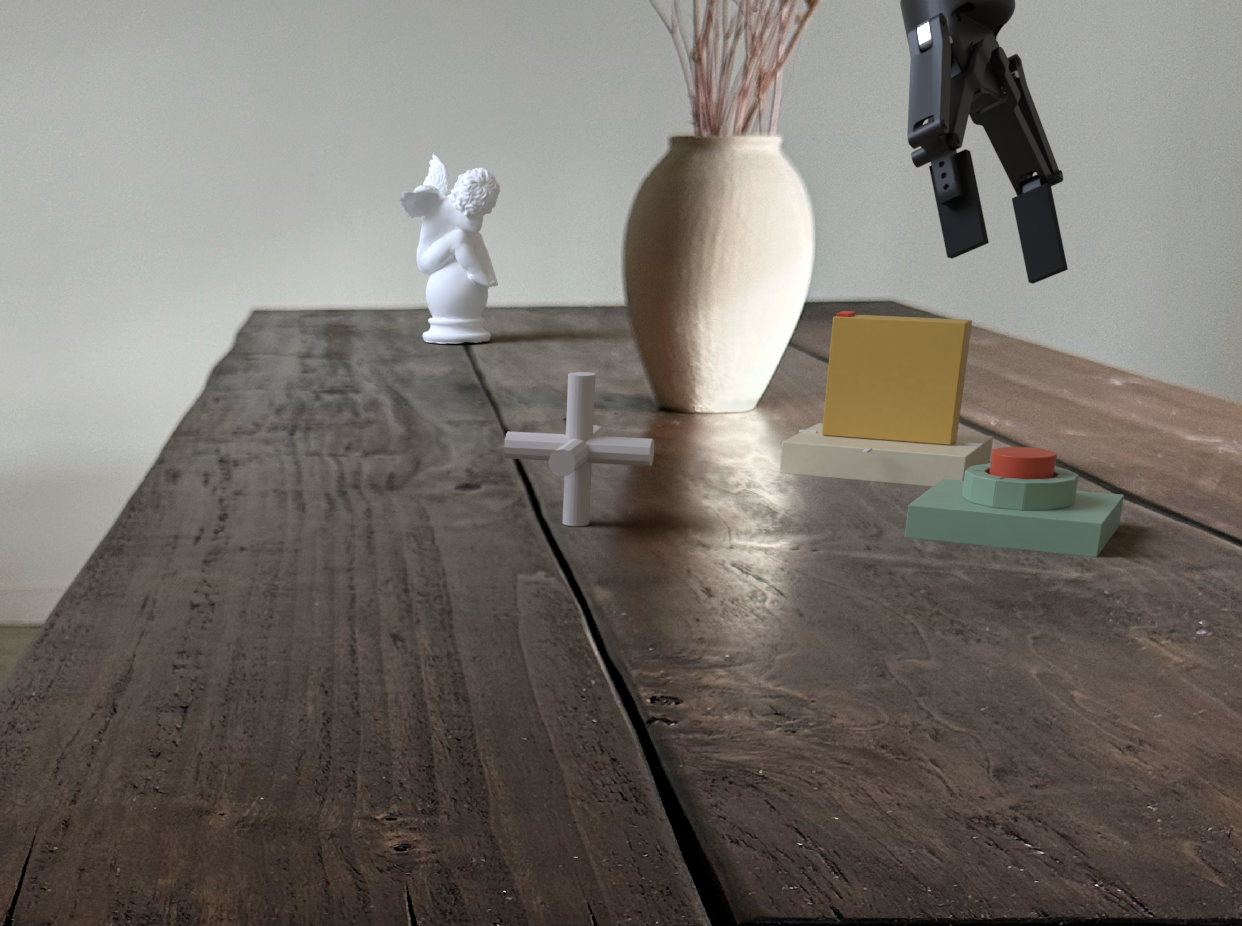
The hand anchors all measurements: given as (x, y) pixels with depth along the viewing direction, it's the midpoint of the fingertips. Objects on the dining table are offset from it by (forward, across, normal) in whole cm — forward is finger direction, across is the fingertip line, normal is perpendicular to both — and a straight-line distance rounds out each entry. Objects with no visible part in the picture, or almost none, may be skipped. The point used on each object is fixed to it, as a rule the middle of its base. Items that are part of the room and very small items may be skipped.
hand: (1009, 264), depth 121 cm
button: (+17, +11, +2) cm, 20 cm away
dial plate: (+11, -3, -14) cm, 18 cm away
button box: (+20, +10, +1) cm, 23 cm away
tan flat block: (+8, -3, -13) cm, 16 cm away
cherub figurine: (-32, -43, -88) cm, 102 cm away
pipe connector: (+14, +28, -22) cm, 38 cm away
